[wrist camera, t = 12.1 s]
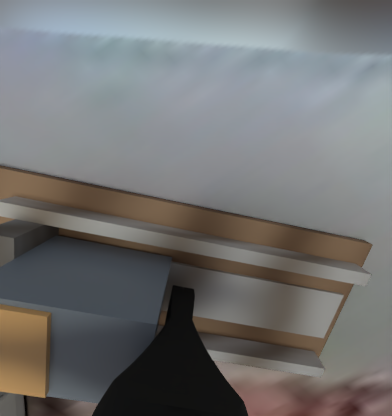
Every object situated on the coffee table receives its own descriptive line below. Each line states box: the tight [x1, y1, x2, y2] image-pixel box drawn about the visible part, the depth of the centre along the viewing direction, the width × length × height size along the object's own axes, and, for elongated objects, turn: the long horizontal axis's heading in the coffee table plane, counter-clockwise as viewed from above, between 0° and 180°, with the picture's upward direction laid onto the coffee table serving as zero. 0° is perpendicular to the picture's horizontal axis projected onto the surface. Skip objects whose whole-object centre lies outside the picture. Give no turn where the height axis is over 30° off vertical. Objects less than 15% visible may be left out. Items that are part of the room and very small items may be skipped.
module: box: [0, 235, 172, 403], centre depth 10 cm, size 7×4×5 cm, turn 78°
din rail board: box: [0, 166, 372, 378], centre depth 12 cm, size 23×11×4 cm, turn 78°
